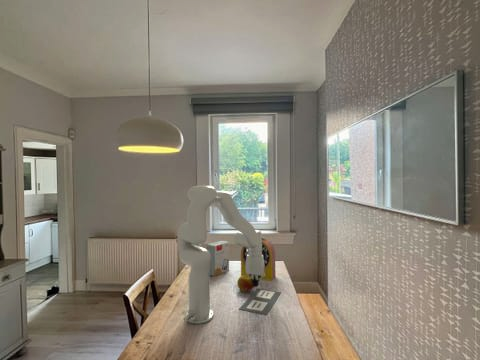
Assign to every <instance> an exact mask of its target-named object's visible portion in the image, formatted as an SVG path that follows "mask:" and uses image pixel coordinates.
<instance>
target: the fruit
mask: <svg viewBox="0 0 480 360" xmlns="http://www.w3.org/2000/svg"><path fill="white" fill-rule="evenodd" d="M237 287H238V289H239V290H241V291H242V292H250V291H252V290H253V289H254V287H253V279H252V278H251V277H250V276H247V275H243V276H241V275H240V276H239V278H238V279H237Z"/></svg>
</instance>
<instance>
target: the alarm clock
mask: <svg viewBox="0 0 480 360" xmlns="http://www.w3.org/2000/svg"><path fill="white" fill-rule="evenodd" d="M261 237H262V255H263V258H264V264H265V272H264V273H265V276H264V277H260V278H259V280H264V281H273V280H274V279H275V278H276V277H277V276H276V249H275V246H274V245H273V243H272V241H270V240H269V239H268V238H266V237H265V236H263V235H261ZM246 250H248V247H244V246H241V250H240V277H241V276H243V275H247V274H246V271H245V267H246V257H247V255H248V253H247V252H246ZM247 276H250V275H247ZM255 277H256V275H255Z"/></svg>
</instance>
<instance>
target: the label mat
mask: <svg viewBox="0 0 480 360" xmlns="http://www.w3.org/2000/svg"><path fill="white" fill-rule="evenodd" d="M281 293H282V292H281V291H279V290H278V291H276V290H270V289H264V288H257V287H256V289H255V290H254V291H253V292H252V294H250V296H249V297H248V298H247V299H246V300H245V301H244V303H242V305H241V306H240V307H239V309H238V310H240V311H246V312H250V313H255V314H260V315H264V316H267V315H268V314H269V313H270V311H271V310H272V308H273V306H274V304H275V303H276V302H277V300H278V298H279V297H280V295H281Z"/></svg>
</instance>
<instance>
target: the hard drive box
mask: <svg viewBox="0 0 480 360" xmlns="http://www.w3.org/2000/svg"><path fill="white" fill-rule="evenodd" d="M206 250H208V251H209V253H210V254H211V265H210V274H209V276H213V277H216V276H219V275H221V274H223V273H226V272H229V271H230V241H226V240H219V241H214V242H211V243H208V244H206Z"/></svg>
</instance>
